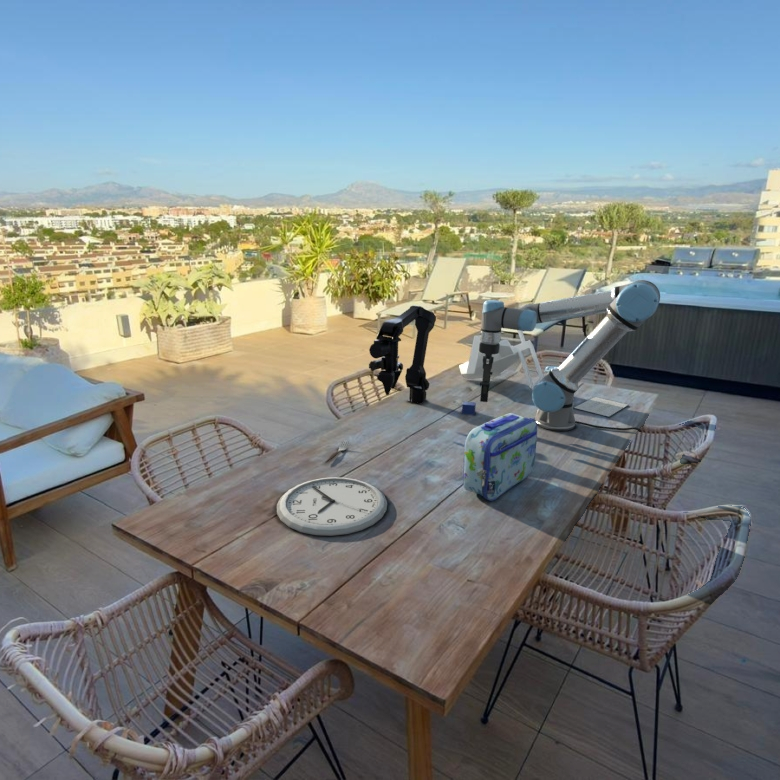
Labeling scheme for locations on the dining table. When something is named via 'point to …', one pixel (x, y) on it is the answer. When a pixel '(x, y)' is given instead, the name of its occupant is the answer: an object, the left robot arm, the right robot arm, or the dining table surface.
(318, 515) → the wall clock
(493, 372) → the white plastic object
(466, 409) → the brick
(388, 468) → the dining table surface
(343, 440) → the fork
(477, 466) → the lunch box
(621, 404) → the invitation card
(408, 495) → the dining table surface
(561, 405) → the right robot arm
